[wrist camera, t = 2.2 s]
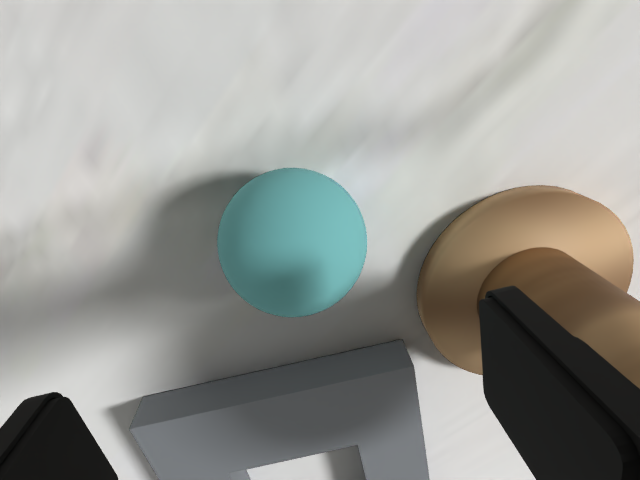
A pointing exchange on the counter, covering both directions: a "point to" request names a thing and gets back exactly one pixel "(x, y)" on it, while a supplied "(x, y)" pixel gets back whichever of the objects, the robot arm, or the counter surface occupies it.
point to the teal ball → (292, 242)
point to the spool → (534, 273)
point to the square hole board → (290, 418)
